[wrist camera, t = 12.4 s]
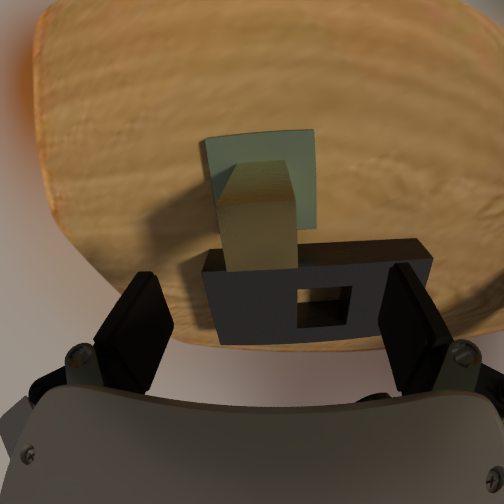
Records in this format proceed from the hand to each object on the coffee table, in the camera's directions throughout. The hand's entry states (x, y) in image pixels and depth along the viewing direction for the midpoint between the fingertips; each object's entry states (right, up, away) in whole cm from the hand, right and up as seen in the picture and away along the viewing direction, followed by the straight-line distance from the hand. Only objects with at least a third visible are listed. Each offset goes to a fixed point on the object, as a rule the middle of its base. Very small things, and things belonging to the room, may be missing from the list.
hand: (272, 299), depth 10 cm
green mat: (0, +8, +13) cm, 15 cm away
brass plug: (0, +8, +12) cm, 15 cm away
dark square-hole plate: (+6, -2, +18) cm, 20 cm away
